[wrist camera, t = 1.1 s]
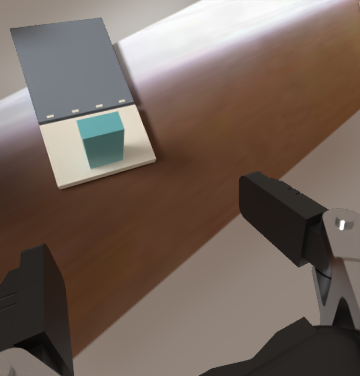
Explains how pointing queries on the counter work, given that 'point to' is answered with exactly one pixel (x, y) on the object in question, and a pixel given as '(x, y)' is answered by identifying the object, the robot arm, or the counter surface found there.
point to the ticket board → (70, 69)
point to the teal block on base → (96, 145)
